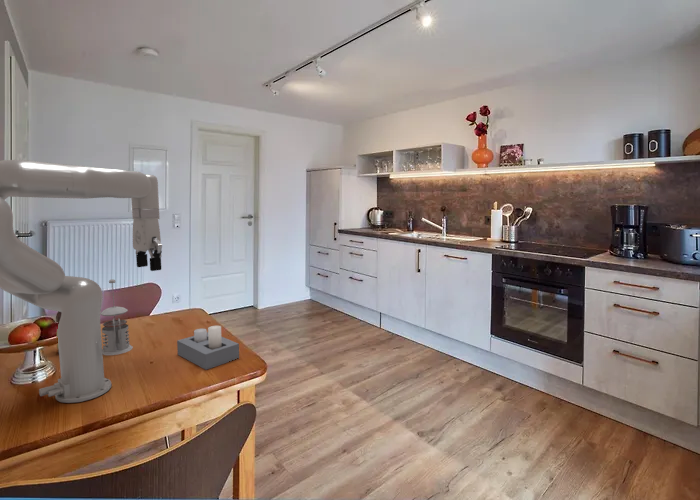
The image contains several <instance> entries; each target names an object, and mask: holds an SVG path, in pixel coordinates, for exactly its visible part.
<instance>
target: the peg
mask: <svg viewBox="0 0 700 500" xmlns="http://www.w3.org/2000/svg"><path fill="white" fill-rule="evenodd" d="M207 332H208V341H209V349H211V350H214V349H217V348H220V347H222V341H221V337H222V325H212V326H209V327H207Z"/></svg>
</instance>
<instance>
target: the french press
mask: <svg viewBox="0 0 700 500" xmlns="http://www.w3.org/2000/svg"><path fill="white" fill-rule="evenodd" d="M108 282H109V284H111V287H112V291H114V284H115V283H116V280H115V279H109V281H108ZM114 293H115V292H112V302H113V303H112V305H113V306H111V307H107V308H105V309H104V310H101V312H100V316H103V317H113V318H112V320H109V321H108V320H107V321H105V322H104V323H102V326H103V327H102V328H101V338H102V337H103V338H102V354H103V356H116V355H121V354H122V355H123V354H125V353H128V352H130V351H131V350H133V347H134V346H132V345H131V344H130V337H129V336H130V335H129V332H130V331H129V324H127V322H128V321H127V320H126V319H120V318H119V317H118V319H116V316H120V315H124V314H126V313H127V312H128V311H129V310H128V309H127V308H125V307H122V306H115V297H114V295H115V294H114Z"/></svg>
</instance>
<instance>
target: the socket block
mask: <svg viewBox="0 0 700 500" xmlns="http://www.w3.org/2000/svg"><path fill="white" fill-rule="evenodd" d="M221 341H222V347H220V348H217V349H214V350H211V349H209V341H208V329H206V328H196V329H195V330H193V336H192V335H191V336H188V337H184V338H181V339H178V340H176V344H177V345H176V348H177V356H179V357H181V358H183V359H185V360H187V361H189V362H191V363H193V364H195V365H196V366H198V367H200V368H202V369H203V370H205V371H206V370H210V369H212V368H215V367H218V366H222V365H224V364H227V363H229V361H230V362H232V360H233V361H235V359H236V360H238V359H240V343H238V342H235V341H234V340H231V339H229V338H226V337H224V336H221ZM237 358H238V359H237Z"/></svg>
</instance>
